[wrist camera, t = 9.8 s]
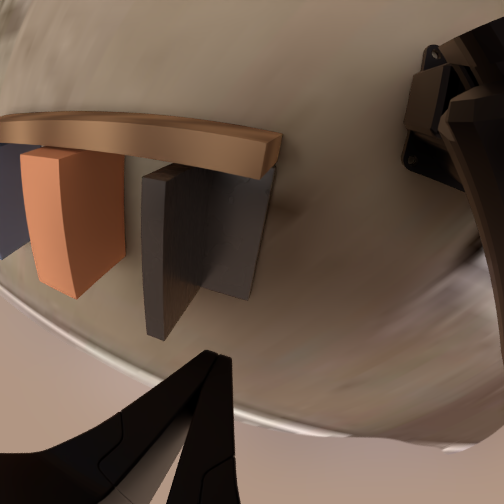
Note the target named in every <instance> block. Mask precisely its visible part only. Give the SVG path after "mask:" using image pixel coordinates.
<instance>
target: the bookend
mask: <svg viewBox="0 0 504 504" xmlns="http://www.w3.org/2000/svg"><path fill="white" fill-rule="evenodd" d="M275 170H276V167H274V166H272V167H271V168H270V170H269V171H268V172H267V173H266V174H265V175H264V176H263V177H262V178H261V179H260V180H257V179H253V178H248V177H244V176H239V175H234V174H230V173H225V172H220V171H215V170H210V169H205V168H200V167H195V166H189V165H184V164H179V163H172V164H170V165H168V166H165V167H163V168H161V169H159V170H156V171H154V172H152V173H150V174H148V175H146V176H143V177H142V202H141V240H142V272H143V291H144V306H145V318H146V329H147V335H150V336H152V337H155V338H157V339H160V340H163V341H165V340H166V338H167V337H168V335H169V334H170V332H171V331H172V329H173V328H174V326H175V325H176V323H177V322H178V320H179V319H180V317H181V316H182V314H183V313H184V311H185V310H186V308H187V307H188V305H189V304H190V302H191V301H192V299H193V298H194V296H195V295H196V293H197V292H198V290H199V289H200V287H203V288H207V289H210V290H213V291H216V292H220V293H223V294H226V295H230V296H233V297H237V298H240V299H244V300H247V301H248V299H249V297H250V293H251V288H252V283H253V279H254V274H255V269H256V264H257V259H258V254H259V249H260V244H261V239H262V235H263V230H264V225H265V220H266V215H267V210H268V205H269V200H270V195H271V190H272V185H273V180H274V175H275Z"/></svg>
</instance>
